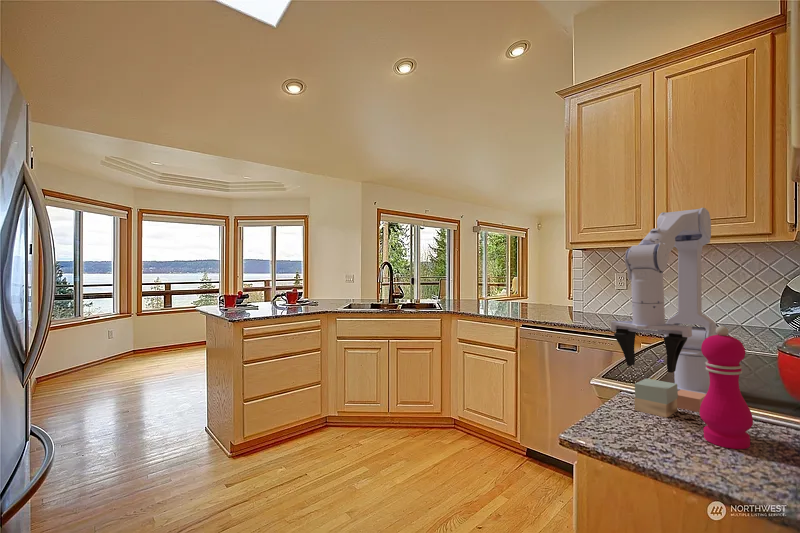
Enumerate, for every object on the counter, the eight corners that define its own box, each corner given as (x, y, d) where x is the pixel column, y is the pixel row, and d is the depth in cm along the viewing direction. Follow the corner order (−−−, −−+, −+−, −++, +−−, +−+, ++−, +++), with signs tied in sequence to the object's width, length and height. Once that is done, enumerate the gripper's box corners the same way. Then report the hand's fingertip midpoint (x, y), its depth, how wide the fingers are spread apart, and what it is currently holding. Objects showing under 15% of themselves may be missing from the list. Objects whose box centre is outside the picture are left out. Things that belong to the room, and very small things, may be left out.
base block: (646, 405, 90) (646, 391, 90) (677, 412, 85) (677, 397, 85) (634, 411, 86) (634, 397, 86) (666, 419, 82) (665, 404, 82)
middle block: (646, 391, 90) (646, 378, 90) (677, 398, 85) (677, 383, 85) (635, 397, 86) (634, 383, 86) (667, 404, 81) (666, 389, 82)
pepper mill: (699, 430, 75) (695, 322, 75) (751, 438, 71) (746, 324, 71) (701, 444, 69) (696, 327, 69) (757, 454, 65) (751, 330, 65)
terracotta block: (681, 402, 91) (681, 389, 91) (708, 408, 87) (708, 394, 87) (672, 407, 88) (672, 394, 88) (700, 413, 84) (699, 399, 84)
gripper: (603, 302, 87) (605, 365, 87) (681, 305, 75) (684, 378, 75) (618, 300, 91) (620, 360, 91) (694, 302, 79) (697, 371, 79)
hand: (650, 368), depth 83 cm, fingers open, 7 cm apart
